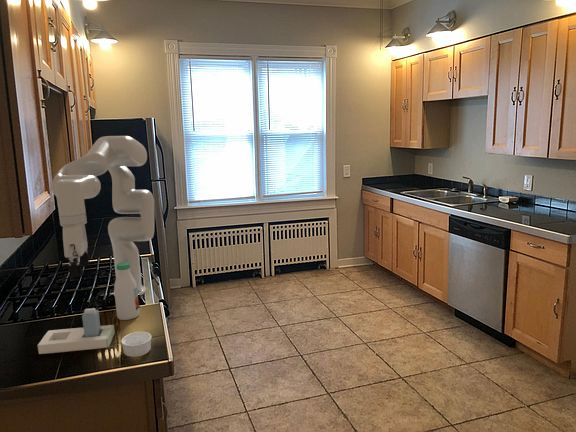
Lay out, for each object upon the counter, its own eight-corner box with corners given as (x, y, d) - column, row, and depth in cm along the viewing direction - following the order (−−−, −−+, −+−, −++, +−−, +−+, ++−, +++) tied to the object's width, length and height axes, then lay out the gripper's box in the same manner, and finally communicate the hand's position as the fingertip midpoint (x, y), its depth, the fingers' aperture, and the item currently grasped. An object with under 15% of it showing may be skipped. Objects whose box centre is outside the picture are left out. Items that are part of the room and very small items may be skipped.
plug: (89, 339, 154) (84, 307, 152) (101, 338, 155) (97, 306, 152) (85, 345, 151) (81, 312, 148) (98, 344, 151) (94, 311, 149)
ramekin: (156, 352, 145) (155, 339, 144) (127, 361, 140) (126, 348, 139) (147, 341, 152) (145, 329, 151) (119, 349, 147) (117, 336, 146)
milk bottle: (132, 321, 167) (127, 267, 162) (113, 320, 168) (106, 266, 164) (143, 312, 174) (138, 260, 170) (124, 311, 176) (118, 259, 171)
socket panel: (49, 338, 155) (48, 330, 155) (114, 332, 158) (113, 324, 158) (38, 354, 146) (37, 345, 145) (108, 347, 149) (107, 338, 148)
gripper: (67, 213, 153) (74, 263, 157) (52, 227, 137) (60, 282, 141) (92, 212, 155) (98, 261, 159) (79, 225, 138) (86, 280, 142)
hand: (80, 271), depth 150 cm, fingers open, 9 cm apart
